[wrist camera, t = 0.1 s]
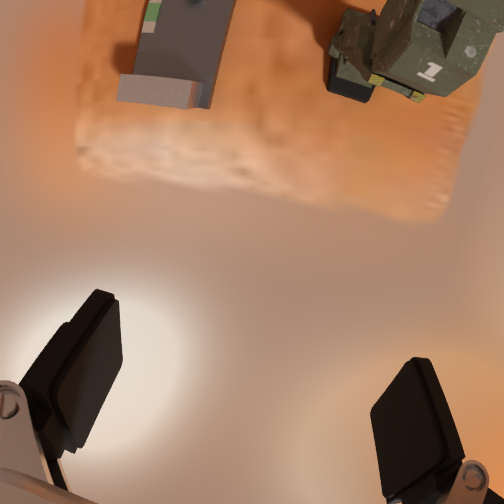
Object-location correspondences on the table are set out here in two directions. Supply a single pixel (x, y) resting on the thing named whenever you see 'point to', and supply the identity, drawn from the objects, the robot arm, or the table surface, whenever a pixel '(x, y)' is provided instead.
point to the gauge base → (178, 53)
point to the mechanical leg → (412, 47)
